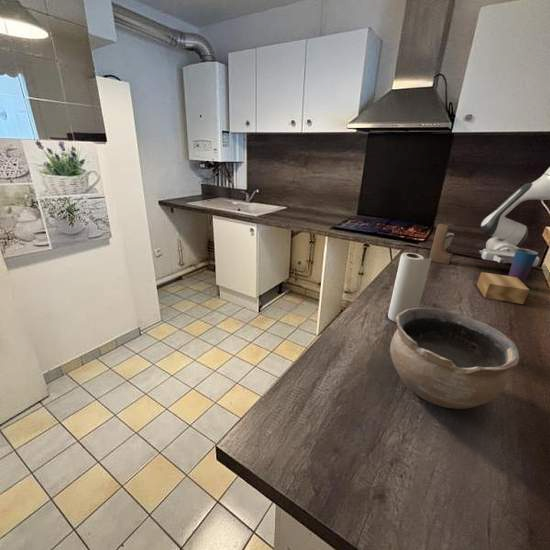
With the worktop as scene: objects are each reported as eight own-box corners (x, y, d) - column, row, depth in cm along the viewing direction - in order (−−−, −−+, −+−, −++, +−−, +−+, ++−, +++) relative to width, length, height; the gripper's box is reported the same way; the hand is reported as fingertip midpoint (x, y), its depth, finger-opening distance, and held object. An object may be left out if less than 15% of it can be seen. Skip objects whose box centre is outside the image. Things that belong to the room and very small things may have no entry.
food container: (437, 248, 164) (442, 230, 160) (449, 251, 159) (454, 233, 155) (427, 252, 156) (432, 234, 152) (439, 255, 152) (444, 236, 148)
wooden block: (449, 262, 142) (460, 226, 135) (448, 265, 139) (459, 228, 132) (430, 258, 147) (439, 223, 140) (428, 260, 144) (437, 225, 137)
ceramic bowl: (371, 395, 63) (383, 337, 57) (395, 345, 79) (406, 296, 73) (495, 451, 52) (527, 387, 46) (492, 379, 68) (515, 325, 62)
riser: (511, 291, 114) (517, 277, 112) (523, 304, 104) (529, 289, 102) (476, 285, 118) (481, 272, 116) (484, 298, 108) (489, 283, 105)
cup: (522, 285, 120) (536, 250, 114) (525, 291, 115) (540, 255, 109) (502, 281, 123) (515, 247, 117) (504, 286, 118) (517, 251, 112)
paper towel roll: (383, 317, 92) (397, 254, 84) (393, 311, 96) (407, 250, 88) (405, 327, 87) (422, 261, 79) (415, 321, 91) (431, 257, 83)
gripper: (480, 243, 135) (488, 252, 123) (533, 249, 129) (547, 259, 117) (475, 256, 138) (483, 265, 126) (528, 263, 131) (541, 273, 119)
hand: (514, 262), depth 121 cm, fingers open, 8 cm apart
